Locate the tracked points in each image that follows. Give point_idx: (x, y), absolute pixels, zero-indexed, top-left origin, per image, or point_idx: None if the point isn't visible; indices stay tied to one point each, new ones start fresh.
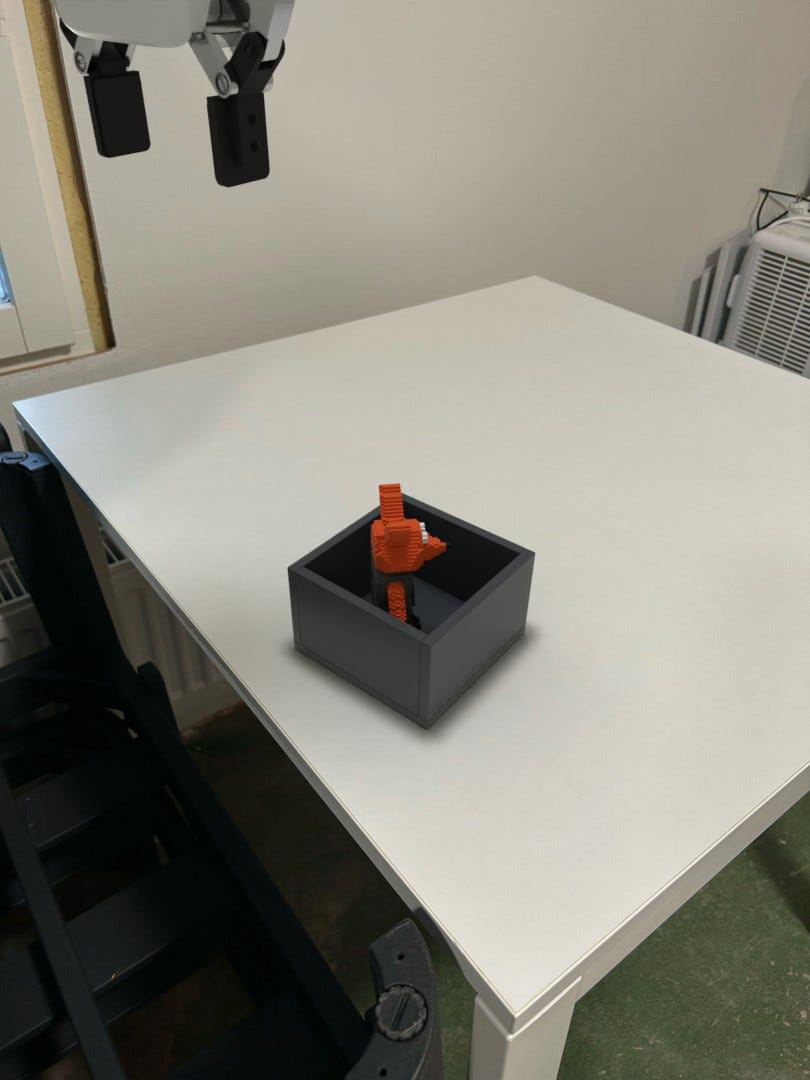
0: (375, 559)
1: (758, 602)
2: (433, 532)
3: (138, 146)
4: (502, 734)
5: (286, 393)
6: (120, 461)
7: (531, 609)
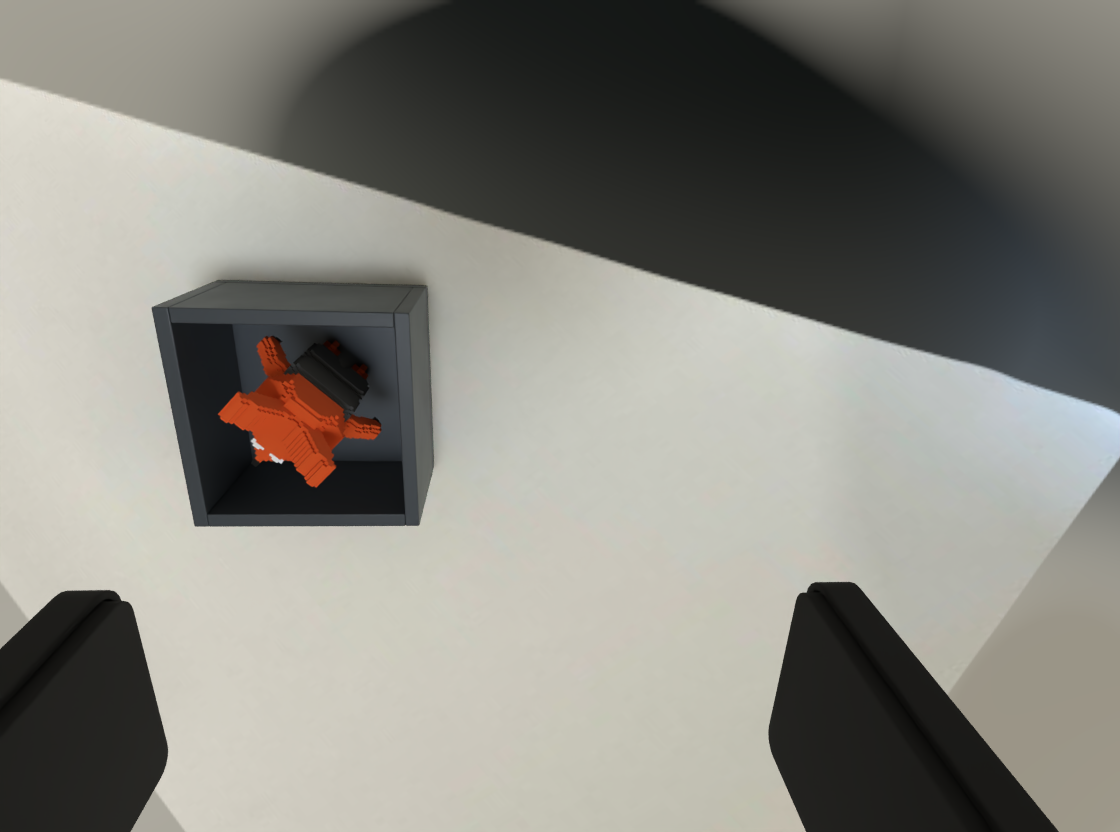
0: (297, 379)
1: None
2: (354, 499)
3: (781, 711)
4: None
5: None
6: (896, 414)
7: None
